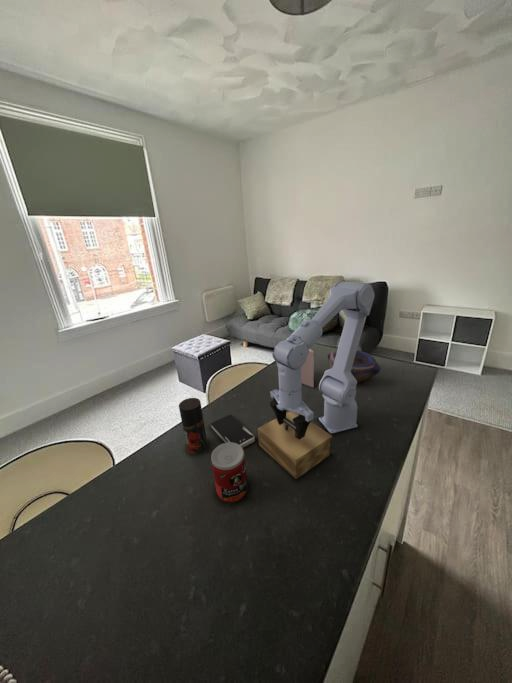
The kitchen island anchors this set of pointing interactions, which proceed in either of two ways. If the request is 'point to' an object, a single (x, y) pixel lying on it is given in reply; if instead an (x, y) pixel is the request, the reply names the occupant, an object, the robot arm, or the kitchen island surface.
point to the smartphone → (232, 431)
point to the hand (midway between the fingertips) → (291, 429)
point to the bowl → (359, 365)
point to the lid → (294, 437)
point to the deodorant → (193, 425)
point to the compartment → (287, 462)
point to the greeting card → (308, 370)
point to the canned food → (229, 471)
